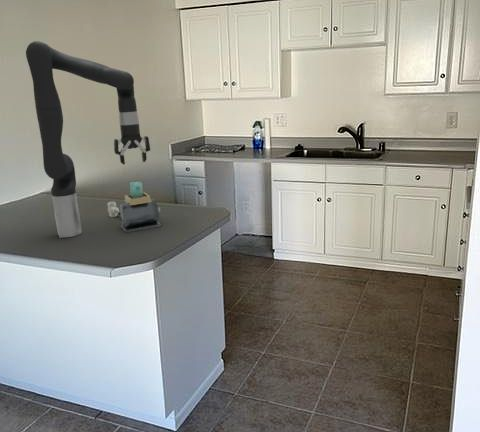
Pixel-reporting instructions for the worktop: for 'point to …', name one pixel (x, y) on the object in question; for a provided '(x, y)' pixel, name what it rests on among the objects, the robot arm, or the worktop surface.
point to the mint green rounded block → (136, 189)
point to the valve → (113, 209)
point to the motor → (139, 213)
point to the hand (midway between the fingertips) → (134, 163)
